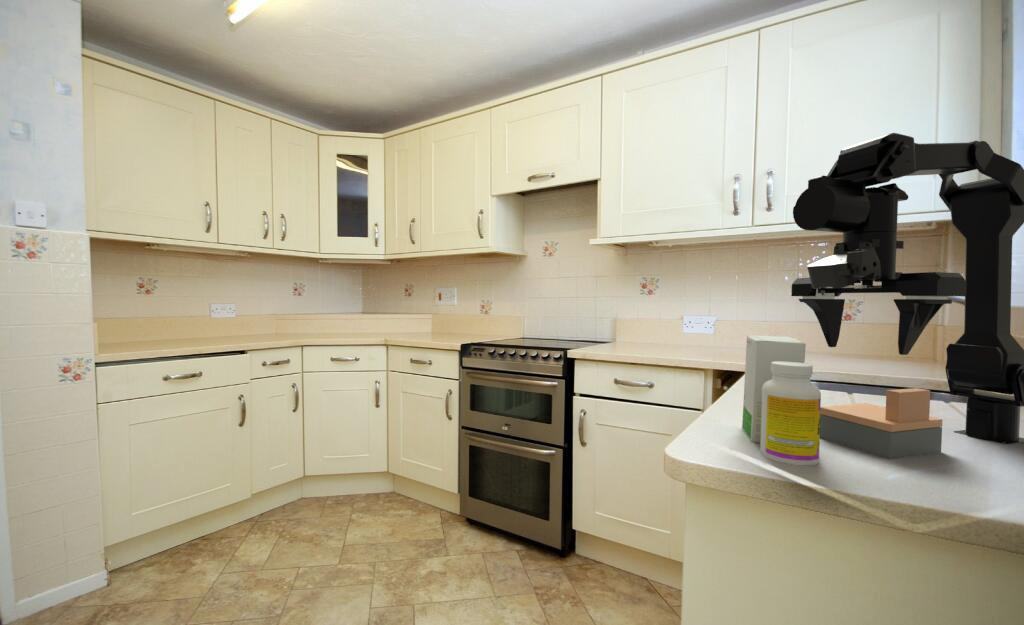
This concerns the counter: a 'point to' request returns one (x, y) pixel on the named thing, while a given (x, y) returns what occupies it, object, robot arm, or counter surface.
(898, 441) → the tub
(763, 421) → the supplement bottle
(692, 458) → the counter surface
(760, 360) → the skincare box
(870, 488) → the counter surface
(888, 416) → the lid
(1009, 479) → the counter surface
